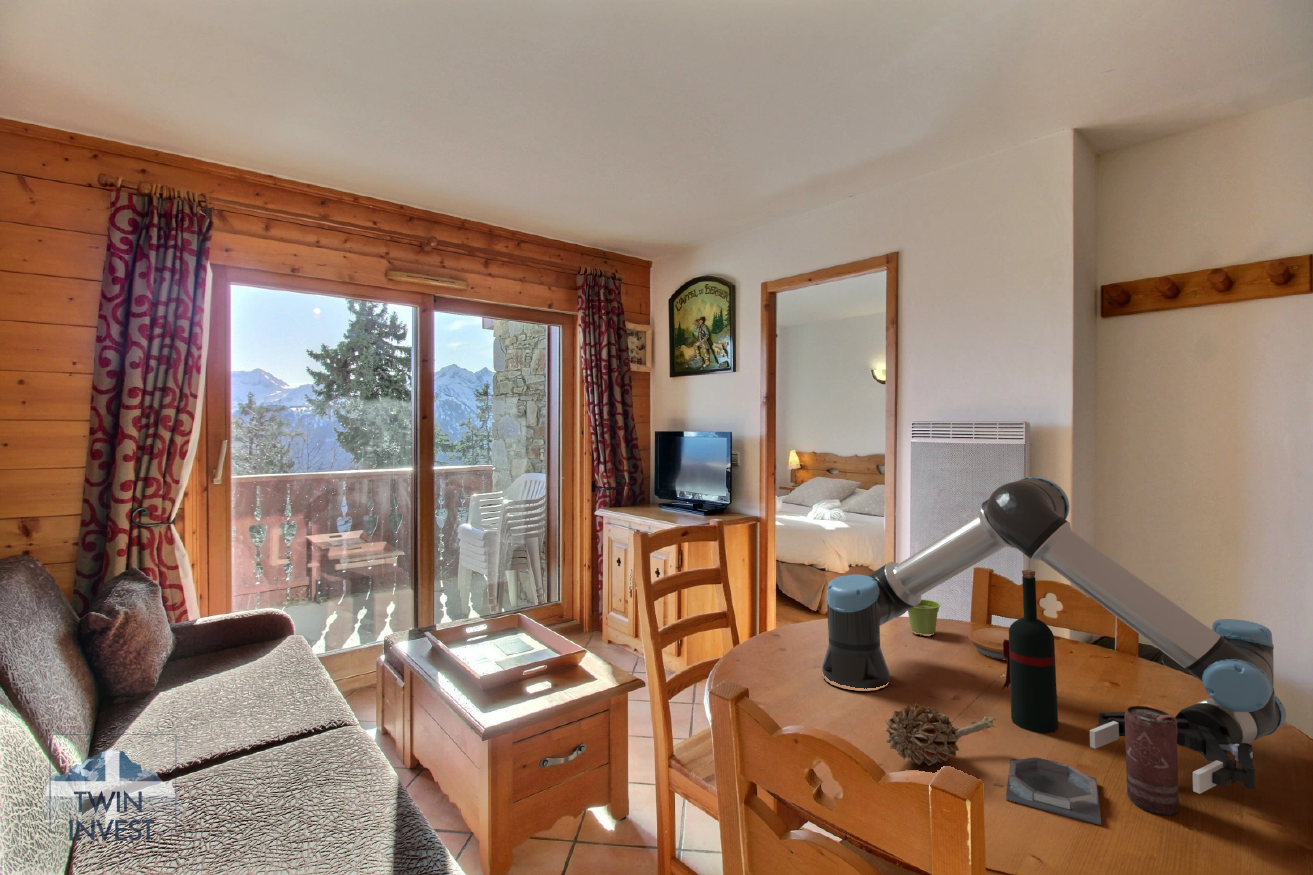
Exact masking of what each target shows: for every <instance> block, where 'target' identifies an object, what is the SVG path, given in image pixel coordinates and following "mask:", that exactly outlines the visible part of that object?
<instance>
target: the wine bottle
mask: <svg viewBox="0 0 1313 875" xmlns="http://www.w3.org/2000/svg"><path fill="white" fill-rule="evenodd" d="M1021 574H1022V578H1021V580H1022V605H1023V617H1021V618H1020V617H1019V619H1017V620H1015V621H1013V622H1012V623H1011V624H1010V626H1009V640H1005V639H1004V642H1003V652H1004V658H1007V661H1006V674H1005V682H1004V684H1003V686H1002V688H1001V690H1004V689H1005V688H1007V689H1009V690H1010V719H1011V721H1012V723H1013V724H1015V725H1016V726H1017V727H1019V728H1020V729H1022V730H1023V729H1024V730H1026V731H1028V732H1029V731H1030V732H1034V733H1042V734H1048V733H1055V732H1056V731H1057V730H1058V729H1059V712H1058V711H1059V710H1058V693H1057V691H1058V690H1057V670H1056V653H1055V651H1056V650H1055V649H1056V648H1055V635H1054V633H1053V631H1052V629H1051V628H1050V627H1049V626H1048V625H1047V624H1046V623H1045V622H1044V621H1042V620H1040V619H1038V614H1037V613H1038V610H1037V608H1038V607H1037V583H1036V582H1037V581H1036V577H1035V576H1036V571H1035V570H1030V569H1025V570H1021ZM1009 686H1010V688H1009Z"/></svg>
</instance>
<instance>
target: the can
mask: <svg viewBox="0 0 1313 875" xmlns="http://www.w3.org/2000/svg"><path fill="white" fill-rule="evenodd" d="M1125 712H1126V713H1125V736H1124V739H1125V742H1124V743H1125V764H1126V793H1127V797H1128V798H1129V799H1130V801H1131V802H1132V804H1134V805H1135V806H1136V807H1138V808H1140V809H1141V810H1144V811H1146V812H1148V813H1152V814H1156V815H1159V816H1161V815H1162V816H1171V815H1175V814H1176V813H1177V812H1178V811H1179V809H1180V801H1179V800H1180V799H1179V798H1180V796H1179V771H1178V770H1179V768H1178V767H1179V766H1178V765H1179V764H1178V763H1179V762H1178V744H1177V721H1176V719H1175V717H1176V716H1173V715H1170V714H1169V713H1168V712H1166V711H1163V710H1161V709H1157V708H1155V707H1149V706H1142V705H1133V706H1129V707H1127V710H1126V711H1125Z"/></svg>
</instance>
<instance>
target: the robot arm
mask: <svg viewBox="0 0 1313 875" xmlns="http://www.w3.org/2000/svg"><path fill="white" fill-rule="evenodd" d="M1069 513H1070V501H1069V498H1068V496H1067V493H1066V492H1065V491H1064V489H1063V488H1062V487H1060V485H1058V484H1057V483H1055V482H1054V481H1052V480H1049V479H1047V478H1043V477H1038V476H1036V477H1035V476H1029V477H1023V478H1021V479H1019V480H1015V481H1012V482H1008V483H1005V484H1002V485H1001V486H999V487H997V488H996V489H995V490H994V491H993V492H992V493H991V495H990V497H989V498H988V499H986V500H985V501H983V502H982V503H980V508H979V513H978V514H976V515H975V516H973V517H972V518H970V519H969V520H966V521H965V522H963V523H962V524H960V525H959V526H957V527H955V528H954V529H953V530H950V531H949V532H947V533H946V534H943V536H941V537H939V538H938V539H936V540H935V541H933V542H932V543H930V544H928V545H927V546H925V547H924V548H922V549H920V550H919V551H917V552H916V553H914V554H912V555H911V556H910V557H909V556H908V558H906V559H905V560H903V561H901V562H900V563H898V562H894V561H890V562H887V563H886V564H884V565H882V566H881V567H880V568H877V569H876V570H874V571H873V572H871V573H869V574H868V575H864V574H847V575H840V576H837V577H834V578H833V579H832V580H830V582H828V584H827V587H826V588H827V589H826V608H827V612H826V613H827V628H828V630H827V632H828V646H827V649H826V652H825V657H824V659H823V662H822V666H821V673H822V672H823V674H824V676H826V677H827V678H828V679H829V680H830V681H834V682H836V683H838V684H840V685H846V686H850V687H855V688H864V689H865V688H866V689H867V688H876V687H880V686H883V685H886V684H887V683H888V682H889V680H891V678H890V677H891V676H890V670H889V668H888V664H887V663H886V660H885V657H884V654H883V651H882V649H881V648H882V647H881V630H880V629H881V627H880V626H882V625H884V624H887V623H888V622H889V621H892V620H894V619H896V618H899V617H901V616H903V615H905V613H906V612H908V610H910V609H911V608H913V607H915V606H917V605H918V604H919V603H920V602H921V599H922V595H924V594H926V593H927V592H929V591H931V590H933V589H934V588H936V587H938V586H939V585H942V584H943V583H945V582H947V581H948V580H950V579H952V578H953V577H955V576H957V575H959V574H961V573H963V572H964V571H966V570H968V569H969V568H971V567H973V566H974V565H977V564H978V563H980V562H981V561H983V560H986V559H987V558H989V557H991V556H992V555H994V554H996V553H999V551H1001V550H1003V549H1005V548H1006V547H1007V548H1011V549H1016V550H1018V551H1020V552H1021V553H1022V554H1024V555H1025V556H1026V557H1028V558H1029V559H1031V561H1041V562H1043V563H1044V564H1046V565H1047V566H1048V567H1050V568H1051V569H1052V570H1054V571H1055V572H1056V573H1057V574H1059V575H1060V576H1062V577H1063V578H1064V579H1065V580H1066V581H1069V583H1071V584H1072V585H1074V586H1075V587H1076V588H1077V589H1079V590H1080V591H1082V592H1083V593H1084V594H1086V595H1087V596H1088V597H1089V598H1091V599H1092V600H1094V601H1095V602H1096V603H1097V604H1098V605H1100V606H1101V607H1103V608H1104V609H1106V610H1107V611H1108V612H1109V613H1111V614H1112V615H1113V616H1115V617H1116V618H1117V619H1118V620H1120V621H1122V622H1123V623H1124V624H1126V626H1128V627H1129V628H1130V629H1132V630H1133V631H1135V632H1136V633H1137V634H1138V635H1140V636H1141V637H1142V638H1144V639H1145V640H1147V641H1148V642H1149V643H1150V644H1152V646H1155V647H1156V648H1157V649H1159V650H1160V651H1161V652H1162V653H1164V654H1165V655H1167V656H1168V657H1169V658H1170V659H1172V660H1173V661H1174V662H1176V664H1178V665H1180V666H1181V667H1182V668H1184V669H1185V670H1186V671H1188V672H1189V673H1190V674H1192V675H1193V676H1194V677H1195V678H1197V679H1198V680H1199V681H1201V682H1202V685H1203V687H1204V689H1205V692H1206V693H1207V695H1209V698H1206V699H1204V700H1203V699H1202V700H1201V701H1198V702H1197V703H1194V704H1192V705H1189V706H1187V707H1184V708H1182V709H1181V710H1180V711H1179V712H1178V713H1177V714H1176V715H1175V716H1174V717H1175V719H1176V721H1177V746H1181V747H1185V748H1187V749H1189V750H1192V751H1195V752H1198V753H1200V754H1202V756H1203V757H1204V758H1205V759H1206V760H1207V761H1210V763H1208V764H1206V765H1203V766H1202V767H1200V768H1198V769H1196V770H1194V771H1192V790H1193V792H1194V793H1197V794H1203V793H1204V792H1206V791H1208V790H1210V789H1212V788H1214V787H1216V786H1219V787H1225V786H1227V785H1229V784H1237V783H1238V782H1239V783H1243V785H1244V787H1245V788H1248V789H1251V790H1254V789H1256V787H1257V786H1256V770H1255V766H1254V764H1253V763H1254V757H1253V755H1254V752H1253V749H1254V748H1253V745H1252V744H1250V743H1253V742H1254V741H1257V740H1259V739H1261V738H1264V737H1267V736H1270V735H1272V734H1274V733H1275V732H1276V731H1277V730H1278V729H1279V728H1281V727H1282V726H1283V725H1284V723H1285V722H1286V719H1287V712H1286V707H1285V706H1284V704H1283V703H1282V702H1281V700H1280V699H1279V697H1278V696H1277V695H1275V688H1274V678H1275V677H1274V676H1275V675H1274V674H1275V673H1274V669H1275V668H1274V667H1275V666H1274V648H1275V647H1274V644H1273V635H1272V631H1271V630H1270V629H1269V628H1268V627H1267V626H1265V625H1263V624H1261V623H1257V622H1253V621H1249V620H1242V619H1235V618H1222V619H1221V618H1219V619H1217V620H1215V621H1214V622H1212V624H1211V626H1212V627H1211V628H1212V629H1211V628H1210V627H1209V626H1207V625H1205V624H1204V623H1203V622H1201V621H1200V620H1198V619H1197V618H1196V617H1195V616H1193V615H1192V614H1190V613H1189V612H1187V611H1186V610H1184V609H1183V608H1182V607H1180V606H1179V605H1178V604H1176V603H1175V602H1174V601H1172V600H1170V599H1169V598H1168V597H1166V596H1165V595H1163V594H1162V593H1160V592H1159V591H1158V590H1156V589H1155V588H1153V587H1152V586H1150V585H1149V584H1148V583H1146V582H1145V581H1144V580H1142V579H1141V578H1140V577H1138V576H1136V575H1135V574H1134V573H1132V572H1131V571H1130V570H1128V569H1126V568H1125V567H1124V566H1122V565H1121V564H1120V563H1118V562H1117V561H1115V560H1114V559H1112V558H1111V557H1109V556H1108V555H1107V554H1105V553H1104V552H1103V551H1101V550H1100V549H1099V548H1097V547H1096V546H1094V545H1093V544H1091V543H1090V542H1088V541H1087V540H1085V539H1084V538H1083V537H1081V536H1080V535H1078V534H1077V533H1075V532H1074V531H1073V529H1072V526H1071V523H1070V521H1068V520H1067V518H1068V516H1069ZM1125 713H1126V711H1113V712H1112V711H1111V712H1110V711H1107V712H1102V711H1101V712H1098V724H1097V725H1096V726H1095V728H1092V729H1090V730H1089V747H1090V748H1092V749H1095V750H1096V749H1098V748H1100V747H1104V746H1106V745H1108V744H1111V743H1113V742H1115V741H1117V740H1119V739H1120V737H1125ZM1229 754H1232V755H1233V756H1234V759H1231V758H1230V756H1229ZM1237 766H1238V767H1237Z"/></svg>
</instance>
